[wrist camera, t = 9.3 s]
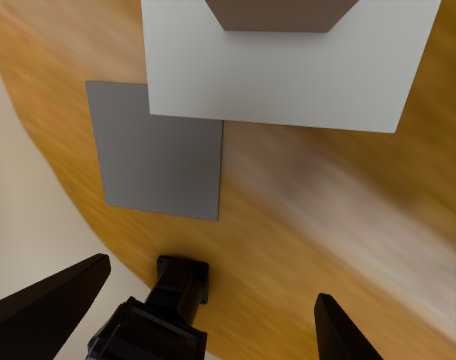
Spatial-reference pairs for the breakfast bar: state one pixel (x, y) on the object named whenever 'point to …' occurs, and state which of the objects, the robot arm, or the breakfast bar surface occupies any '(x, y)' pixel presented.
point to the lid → (285, 59)
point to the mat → (154, 154)
